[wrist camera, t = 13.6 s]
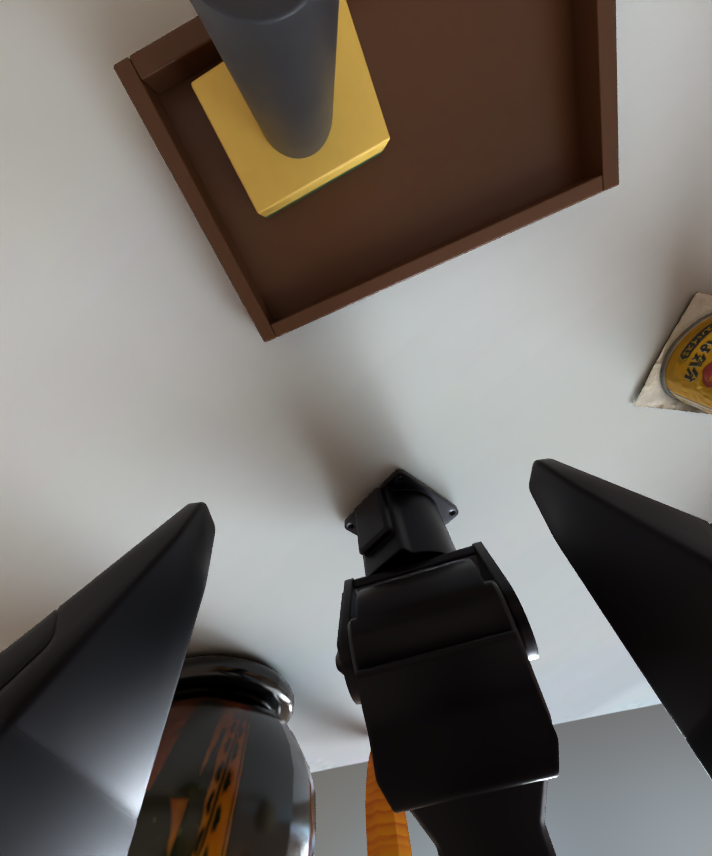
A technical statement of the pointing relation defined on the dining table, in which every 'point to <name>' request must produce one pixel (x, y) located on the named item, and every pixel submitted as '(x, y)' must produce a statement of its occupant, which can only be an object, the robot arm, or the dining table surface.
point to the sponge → (289, 96)
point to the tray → (404, 147)
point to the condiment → (684, 364)
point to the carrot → (384, 822)
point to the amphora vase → (228, 768)
